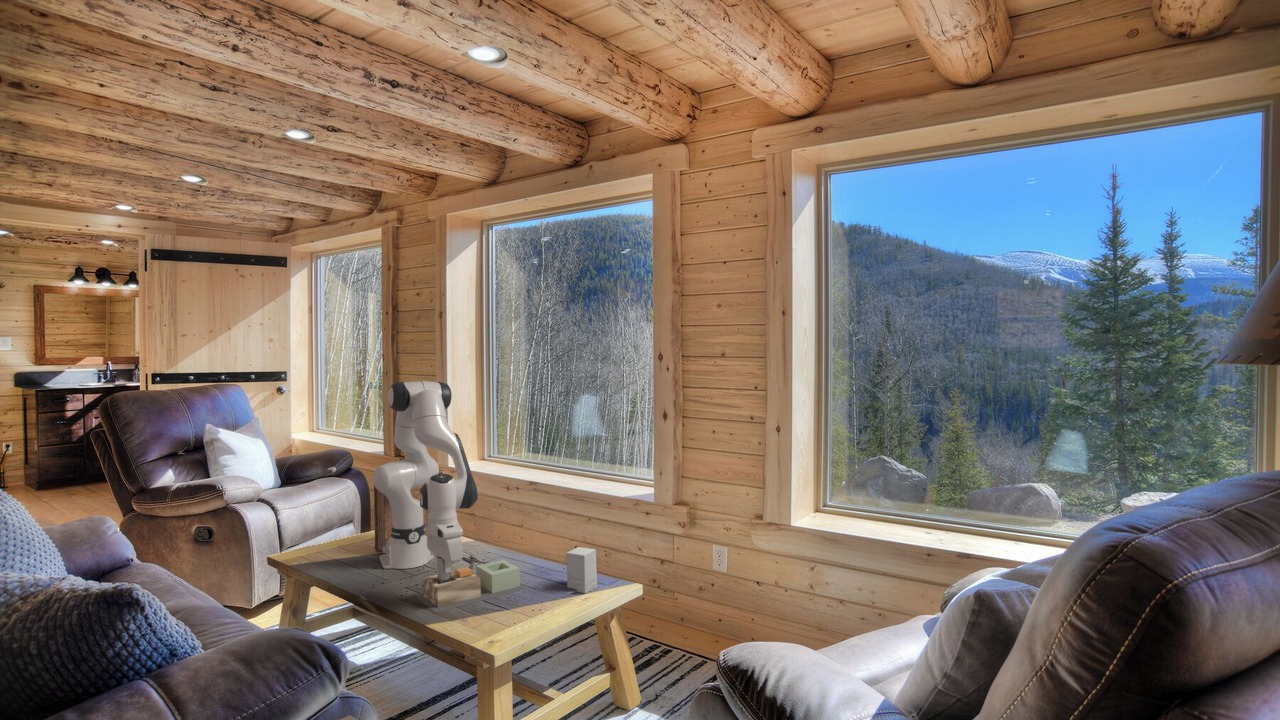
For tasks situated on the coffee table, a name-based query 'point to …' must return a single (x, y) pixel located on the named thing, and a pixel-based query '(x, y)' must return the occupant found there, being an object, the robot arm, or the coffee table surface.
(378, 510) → the book
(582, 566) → the supplement box
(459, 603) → the mat
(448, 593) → the socket block
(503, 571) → the frame
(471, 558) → the pliers
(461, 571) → the key
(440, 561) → the grey cylindrical peg
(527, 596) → the coffee table surface
